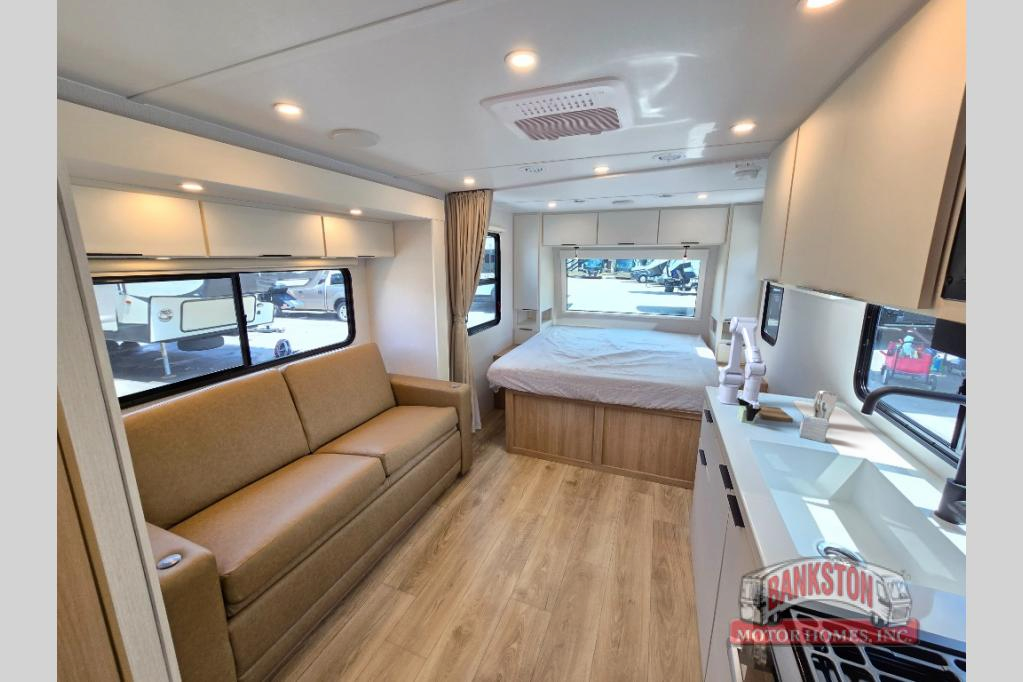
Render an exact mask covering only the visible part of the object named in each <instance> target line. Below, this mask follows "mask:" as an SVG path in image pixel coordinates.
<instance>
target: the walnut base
mask: <svg viewBox="0 0 1023 682" xmlns="http://www.w3.org/2000/svg"><path fill="white" fill-rule="evenodd" d="M759 407H760V408H761V410H760V411H759V412H758V413H757V414H756V416H758V417H759V418H760V419H761V420H763V421H772V422H779V423H780V422H781V423H789V422H790V423H792V424H793V421H794V418H793V417H792V416H791V415H790V414H788V413H787V412H786V411H785V410H783V409H782V408H780V407H774V406H763V405H760V406H759Z"/></svg>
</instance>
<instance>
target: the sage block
mask: <svg viewBox="0 0 1023 682" xmlns="http://www.w3.org/2000/svg"><path fill="white" fill-rule="evenodd" d="M738 406H739V405H738ZM746 416H747V411H746V407H745V406H739V407H738V411H737V415H736V418H737V419H738V420H739V421H740V423H742V424H743V423H744V424H753V425H754V424H755V421H756V416H757V415H756V416H755V418H754V419H753V421H747V419H746Z"/></svg>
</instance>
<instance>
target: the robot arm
mask: <svg viewBox="0 0 1023 682" xmlns="http://www.w3.org/2000/svg"><path fill="white" fill-rule="evenodd" d="M758 326H759V321H758V319H757V317H747V316H746V317H745V316H743V317H741V316H733V317H732V318H731V320H730V325H729V333H731V335H732V336H731V342H730V348H729V358H728V362H727V363H728V364H727V365H725V366H724V367H721V369H720V373H719V375H718V381H719V383H720V384H719V387H718V392H717V395H715V398H716V399H717V400H718V401H719V402H720V404H723V405H733V406H745V407H746V411H747V416H746V419H747V421H753V419H754V418H755V419H756V417H755V416H757V413H758V412H759V411H760V410H761V408H760V407H759V406H761V405H760V403H759V395H760V390H761V385H762V379H763V377H764V376H765V375H766V373H767V364H766V363H765V360H762V354H761V351H760V348H759V347H757V344H756V334H755V333H756V331H757V330H758ZM743 344H745V349H744V357H745V363H746V364H745V366H744V370H743V368H742V367H740V365H741V359H742V352H743V346H744V345H743ZM741 386H743V391H741V392H740V394H739V395H740V396H738V393H739V388H740V387H741Z"/></svg>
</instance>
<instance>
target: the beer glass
mask: <svg viewBox="0 0 1023 682" xmlns="http://www.w3.org/2000/svg"><path fill="white" fill-rule="evenodd" d="M837 399H838V394H837V393H834V392H833V391H829V390H822V389H819V390H817V391H816V394H815V397H814V402H813V417H818V418H822V419H827V421H828V423H829V424H830V421H829V420H830V418H831V415H832V414H833V412H834V410H835V408H836V404H837Z"/></svg>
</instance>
